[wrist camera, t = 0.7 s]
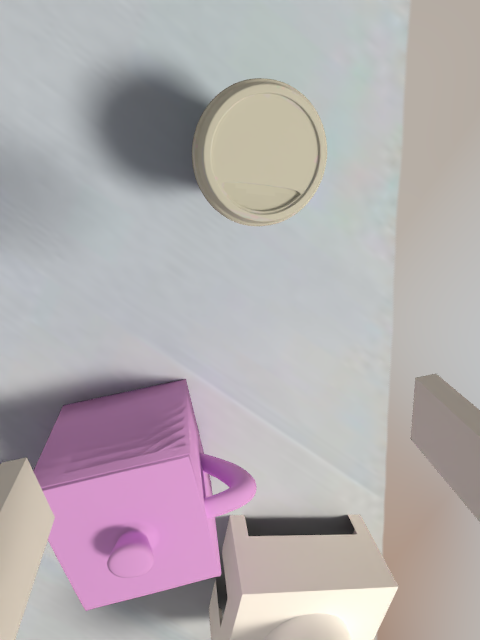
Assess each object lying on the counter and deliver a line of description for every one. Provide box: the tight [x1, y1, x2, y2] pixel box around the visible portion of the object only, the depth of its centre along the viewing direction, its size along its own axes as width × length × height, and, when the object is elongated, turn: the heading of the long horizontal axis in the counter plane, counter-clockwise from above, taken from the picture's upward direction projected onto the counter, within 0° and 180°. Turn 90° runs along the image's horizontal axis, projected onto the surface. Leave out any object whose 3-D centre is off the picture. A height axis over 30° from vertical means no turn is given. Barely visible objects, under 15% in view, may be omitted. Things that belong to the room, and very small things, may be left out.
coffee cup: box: [192, 78, 327, 226], centre depth 28 cm, size 9×8×12 cm
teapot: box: [33, 379, 256, 611], centre depth 37 cm, size 15×25×14 cm, turn 99°
